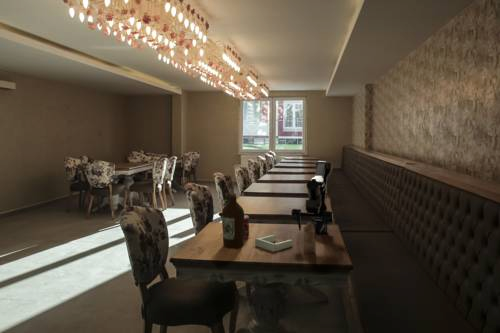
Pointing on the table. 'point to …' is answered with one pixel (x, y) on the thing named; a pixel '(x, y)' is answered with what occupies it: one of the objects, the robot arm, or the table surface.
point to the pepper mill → (309, 238)
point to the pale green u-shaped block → (267, 244)
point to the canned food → (246, 227)
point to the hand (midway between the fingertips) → (309, 231)
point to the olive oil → (233, 223)
